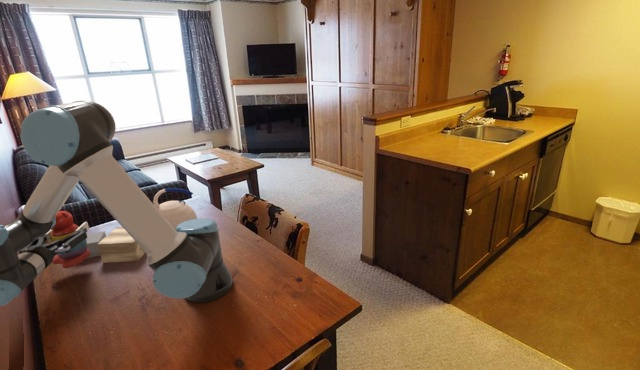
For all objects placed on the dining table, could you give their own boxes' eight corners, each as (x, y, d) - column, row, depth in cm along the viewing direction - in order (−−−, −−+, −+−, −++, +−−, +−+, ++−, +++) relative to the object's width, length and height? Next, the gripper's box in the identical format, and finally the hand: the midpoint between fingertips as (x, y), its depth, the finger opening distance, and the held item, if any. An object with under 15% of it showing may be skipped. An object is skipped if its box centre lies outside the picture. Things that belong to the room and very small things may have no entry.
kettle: (148, 223, 155) (139, 186, 148) (196, 213, 163) (189, 177, 156) (148, 242, 138) (137, 202, 131) (201, 230, 145) (193, 191, 139)
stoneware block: (102, 255, 130) (98, 241, 128) (75, 260, 128) (71, 246, 125) (108, 244, 138) (104, 231, 136) (83, 248, 136) (79, 235, 134)
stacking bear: (50, 263, 116) (31, 216, 110) (80, 248, 125) (64, 204, 118) (67, 269, 112) (48, 221, 105) (98, 254, 120) (82, 208, 114)
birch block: (138, 261, 125) (133, 242, 122) (103, 263, 125) (97, 244, 122) (153, 243, 137) (149, 225, 134) (121, 244, 137) (116, 227, 134)
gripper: (-4, 278, 98) (43, 240, 119) (75, 268, 101) (108, 232, 121) (-15, 256, 95) (35, 221, 116) (67, 246, 98) (102, 213, 119)
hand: (72, 226), depth 119 cm, fingers closed on stacking bear, 9 cm apart
